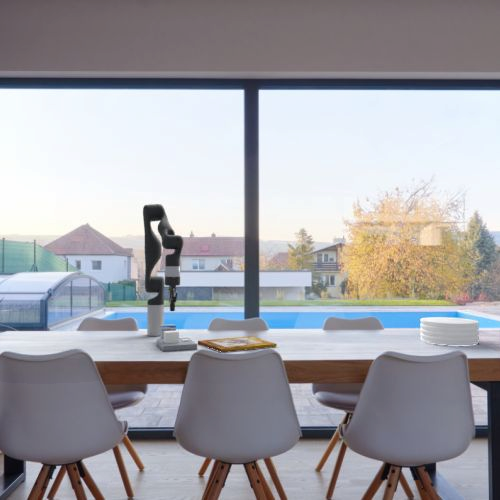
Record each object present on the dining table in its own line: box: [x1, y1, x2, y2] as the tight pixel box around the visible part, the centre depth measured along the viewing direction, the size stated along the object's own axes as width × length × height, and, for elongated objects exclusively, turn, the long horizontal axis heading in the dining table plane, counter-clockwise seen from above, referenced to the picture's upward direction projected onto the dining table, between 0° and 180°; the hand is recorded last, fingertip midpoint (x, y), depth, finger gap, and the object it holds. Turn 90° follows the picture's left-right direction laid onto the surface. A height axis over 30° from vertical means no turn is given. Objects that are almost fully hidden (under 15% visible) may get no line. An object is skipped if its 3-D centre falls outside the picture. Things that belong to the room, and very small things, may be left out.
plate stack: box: [419, 316, 480, 345], centre depth 243 cm, size 28×28×12 cm
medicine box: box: [159, 324, 177, 339], centre depth 244 cm, size 8×4×9 cm, turn 105°
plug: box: [164, 330, 180, 343], centre depth 228 cm, size 6×6×7 cm
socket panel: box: [156, 337, 198, 352], centre depth 228 cm, size 20×16×3 cm
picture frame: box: [197, 335, 277, 353], centre depth 233 cm, size 27×2×30 cm
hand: (172, 310), depth 229 cm, fingers closed
